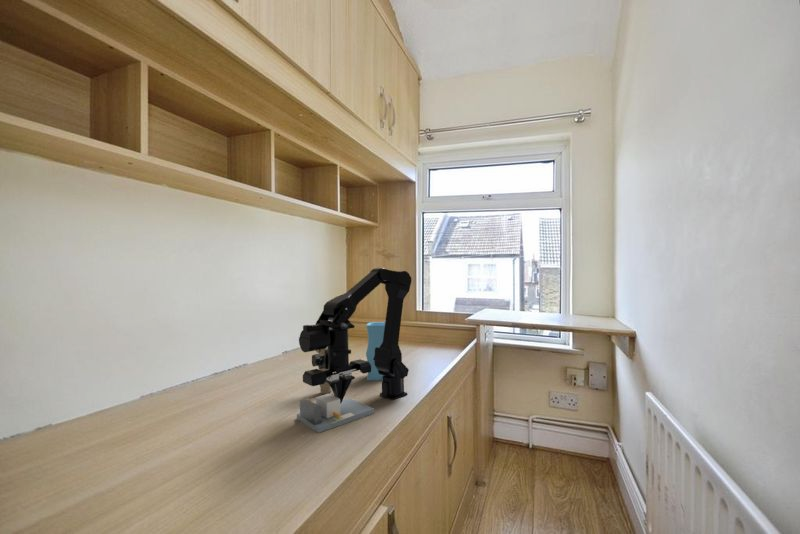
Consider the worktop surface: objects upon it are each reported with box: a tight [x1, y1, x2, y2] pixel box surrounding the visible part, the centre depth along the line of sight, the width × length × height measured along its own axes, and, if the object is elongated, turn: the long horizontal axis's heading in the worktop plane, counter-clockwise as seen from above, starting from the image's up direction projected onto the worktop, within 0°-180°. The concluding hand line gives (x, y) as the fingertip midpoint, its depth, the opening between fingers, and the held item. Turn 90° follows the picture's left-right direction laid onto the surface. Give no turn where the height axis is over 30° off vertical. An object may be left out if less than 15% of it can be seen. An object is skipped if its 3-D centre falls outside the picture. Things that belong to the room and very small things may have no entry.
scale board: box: [296, 397, 375, 434], centre depth 93 cm, size 17×12×2 cm
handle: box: [315, 348, 332, 395], centre depth 113 cm, size 5×6×15 cm
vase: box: [365, 321, 385, 381], centre depth 129 cm, size 8×8×20 cm
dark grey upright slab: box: [299, 398, 322, 425], centre depth 88 cm, size 2×8×4 cm, turn 42°
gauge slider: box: [315, 393, 341, 418], centre depth 91 cm, size 4×9×4 cm, turn 42°
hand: (339, 403), depth 94 cm, fingers closed
